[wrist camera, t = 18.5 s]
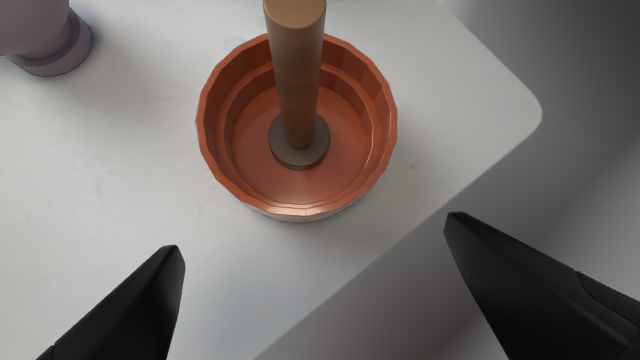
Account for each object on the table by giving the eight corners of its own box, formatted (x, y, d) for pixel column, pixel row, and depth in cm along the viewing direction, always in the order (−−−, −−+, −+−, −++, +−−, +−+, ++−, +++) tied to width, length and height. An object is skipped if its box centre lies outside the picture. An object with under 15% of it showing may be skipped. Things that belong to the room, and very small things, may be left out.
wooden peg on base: (321, 176, 23) (348, 77, 9) (262, 163, 23) (204, 43, 9) (334, 122, 24) (375, -37, 10) (278, 109, 24) (246, -69, 10)
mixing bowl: (406, 137, 25) (435, 108, 19) (308, 257, 22) (309, 261, 17) (292, 48, 26) (290, -3, 21) (186, 151, 23) (152, 123, 18)
